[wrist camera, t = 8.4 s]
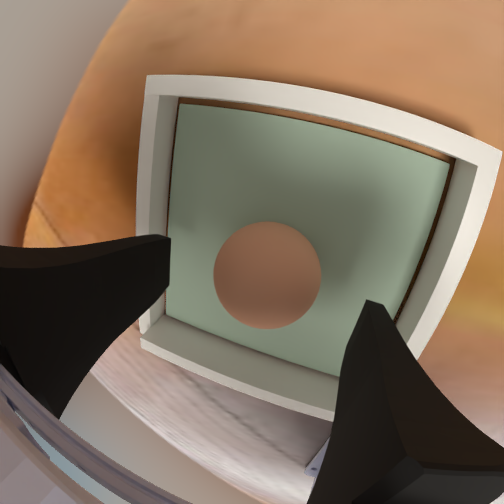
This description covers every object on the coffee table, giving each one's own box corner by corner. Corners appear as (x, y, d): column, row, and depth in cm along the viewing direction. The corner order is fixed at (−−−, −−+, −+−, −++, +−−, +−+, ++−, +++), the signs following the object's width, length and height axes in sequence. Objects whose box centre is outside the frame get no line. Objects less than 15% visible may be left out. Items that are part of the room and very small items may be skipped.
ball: (313, 307, 14) (293, 365, 10) (231, 281, 15) (190, 327, 11) (338, 224, 12) (327, 265, 8) (244, 199, 13) (198, 227, 9)
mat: (360, 378, 15) (359, 382, 14) (168, 312, 17) (165, 314, 17) (447, 163, 10) (450, 164, 9) (183, 103, 12) (179, 103, 12)
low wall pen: (370, 395, 15) (366, 430, 13) (154, 319, 18) (130, 341, 16) (477, 146, 9) (502, 151, 7) (166, 80, 12) (132, 75, 10)
